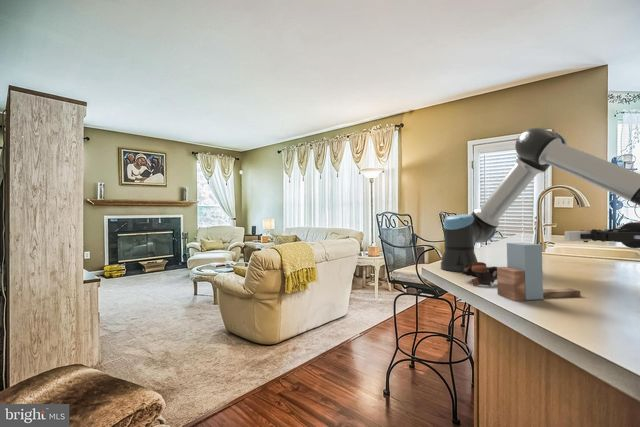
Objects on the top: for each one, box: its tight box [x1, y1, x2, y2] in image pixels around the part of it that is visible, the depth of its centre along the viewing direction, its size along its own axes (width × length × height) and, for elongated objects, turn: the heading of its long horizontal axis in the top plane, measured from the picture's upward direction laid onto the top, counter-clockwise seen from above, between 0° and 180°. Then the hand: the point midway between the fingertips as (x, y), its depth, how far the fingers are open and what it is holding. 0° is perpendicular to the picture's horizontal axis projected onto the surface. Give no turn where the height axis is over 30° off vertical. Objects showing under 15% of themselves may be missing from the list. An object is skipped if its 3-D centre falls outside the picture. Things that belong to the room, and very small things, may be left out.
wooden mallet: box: [496, 266, 581, 302], centre depth 86 cm, size 21×7×8 cm, turn 94°
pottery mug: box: [461, 261, 498, 287], centre depth 104 cm, size 12×10×8 cm
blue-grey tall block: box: [506, 242, 544, 301], centre depth 86 cm, size 5×7×15 cm
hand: (566, 236), depth 87 cm, fingers closed
